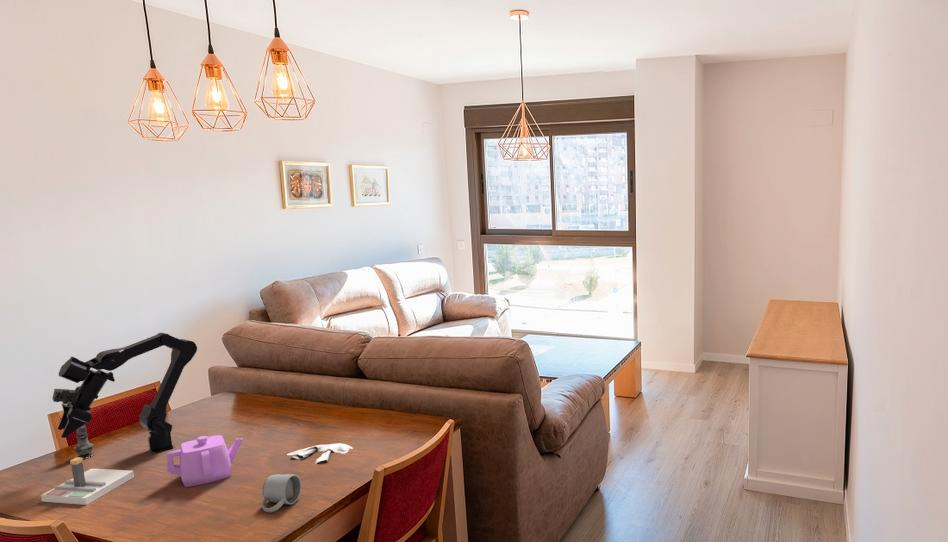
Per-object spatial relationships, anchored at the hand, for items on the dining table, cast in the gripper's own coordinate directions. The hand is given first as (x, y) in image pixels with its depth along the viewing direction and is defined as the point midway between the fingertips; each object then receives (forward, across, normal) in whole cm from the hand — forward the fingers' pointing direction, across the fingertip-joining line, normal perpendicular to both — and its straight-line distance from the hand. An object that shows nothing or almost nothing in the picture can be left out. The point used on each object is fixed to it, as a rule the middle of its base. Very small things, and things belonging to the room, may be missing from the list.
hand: (60, 433), depth 203 cm
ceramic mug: (-16, +69, +42) cm, 82 cm away
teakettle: (-10, +33, +35) cm, 49 cm away
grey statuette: (+8, -15, +14) cm, 22 cm away
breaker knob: (+8, +18, +8) cm, 21 cm away
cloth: (-28, +44, +60) cm, 79 cm away
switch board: (+9, +16, +12) cm, 22 cm away
